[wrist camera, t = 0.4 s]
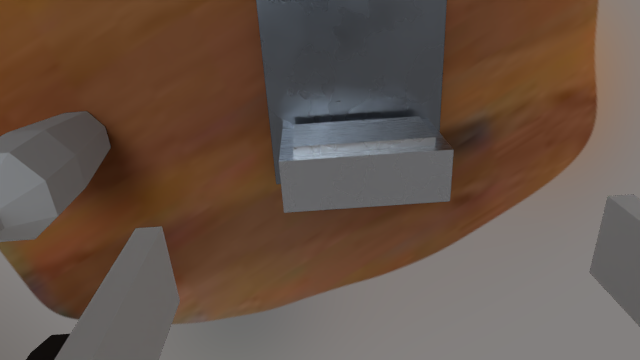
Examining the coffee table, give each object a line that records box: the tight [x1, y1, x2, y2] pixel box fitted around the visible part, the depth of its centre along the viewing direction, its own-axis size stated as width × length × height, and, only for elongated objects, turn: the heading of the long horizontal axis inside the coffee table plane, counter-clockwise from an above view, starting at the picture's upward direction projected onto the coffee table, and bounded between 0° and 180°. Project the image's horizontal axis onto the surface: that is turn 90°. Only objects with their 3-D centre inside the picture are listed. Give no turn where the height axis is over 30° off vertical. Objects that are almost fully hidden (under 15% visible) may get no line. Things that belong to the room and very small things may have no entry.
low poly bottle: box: [0, 111, 111, 242], centre depth 29 cm, size 6×6×22 cm
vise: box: [256, 0, 454, 213], centre depth 32 cm, size 26×14×8 cm, turn 3°
